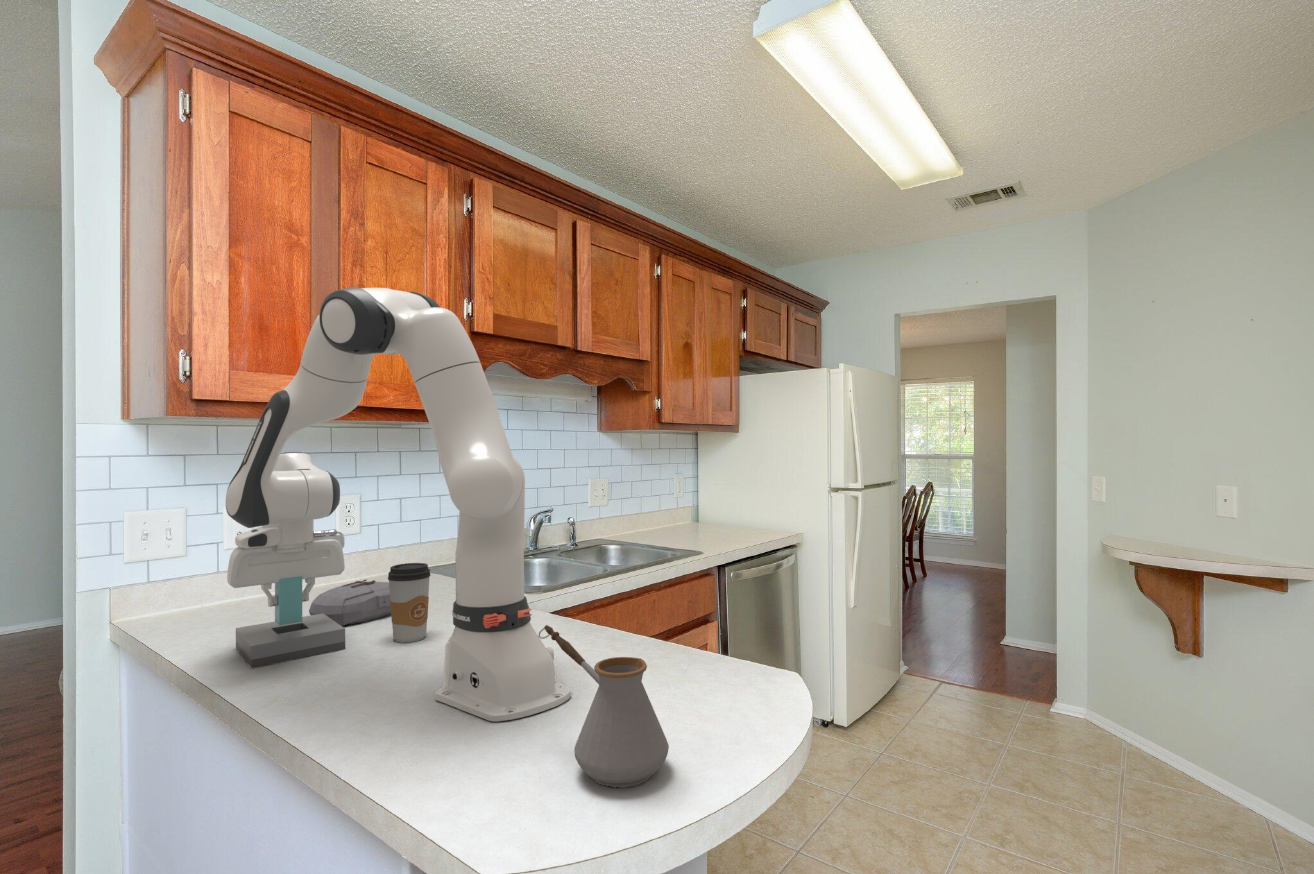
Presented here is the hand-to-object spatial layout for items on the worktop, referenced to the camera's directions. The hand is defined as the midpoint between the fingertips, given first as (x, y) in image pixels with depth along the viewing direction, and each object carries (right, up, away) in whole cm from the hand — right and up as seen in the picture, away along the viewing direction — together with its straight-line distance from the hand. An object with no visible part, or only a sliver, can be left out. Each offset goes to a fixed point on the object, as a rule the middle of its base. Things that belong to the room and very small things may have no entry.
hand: (288, 603), depth 128 cm
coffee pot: (+65, -8, -46) cm, 81 cm away
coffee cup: (+22, -9, +6) cm, 24 cm away
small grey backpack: (+2, -10, +23) cm, 25 cm away
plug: (0, -4, 0) cm, 4 cm away
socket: (0, -9, 0) cm, 9 cm away
